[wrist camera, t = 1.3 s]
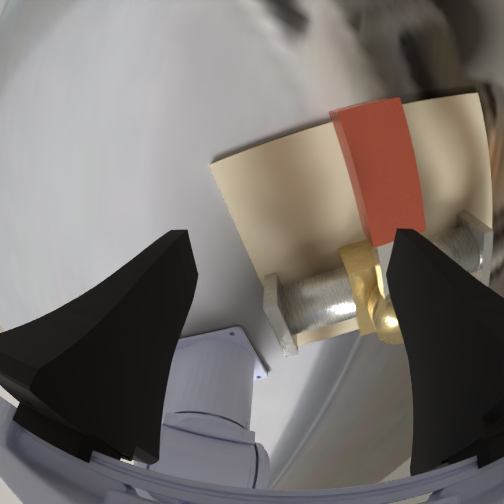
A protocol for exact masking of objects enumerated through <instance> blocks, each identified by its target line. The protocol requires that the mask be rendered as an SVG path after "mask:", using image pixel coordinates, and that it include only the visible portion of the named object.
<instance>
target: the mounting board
mask: <svg viewBox="0 0 504 504" xmlns="http://www.w3.org/2000/svg"><path fill="white" fill-rule="evenodd" d="M402 106H403V110H404V113H405V117H406V120H407V124H408V128H409V132H410V136H411V140H412V145H413V149H414V154H415V159H416V164H417V169H418V175H419V180H420V186H421V193H422V200H423V207H424V216H425V225H426V231H423V232H420V234H421V235H423V236H424V237H425V238H430V237H432V236H435V235H438V234H441V233H443V232H446V231H449V230H451V229H454V228H457V213H458V212H461V211H464V210H466V211H468V212H469V213H470V214H472V215H473V216H475V217H476V218H477V219H479V220H480V221H482V222H483V223H484V224H486V225H487V226H488V227H490V228H491V229H492V184H491V170H490V160H489V151H488V143H487V136H486V130H485V124H484V119H483V114H482V109H481V104H480V100H479V96H478V93H467V94H459V95H452V96H445V97H439V98H432V99H427V100H421V101H416V102H410V103H405V104H402ZM209 167H210V169H211V171H212V174H213V176H214V178H215V181H216V183H217V185H218V187H219V190H220V192H221V194H222V196H223V199H224V201H225V203H226V205H227V208H228V210H229V212H230V214H231V217H232V219H233V221H234V223H235V226H236V228H237V230H238V233H239V235H240V237H241V239H242V242H243V244H244V246H245V248H246V251H247V253H248V255H249V257H250V260H251V262H252V264H253V266H254V268H255V271H256V273H257V275H258V277H259V280H260V282H261V284H262V286H263V289H264V275H268V274H271V273H274V272H277V274H278V277H279V279H280V282H281V284H282V285H284V284H288V283H291V282H295V281H298V280H301V279H305V278H308V277H311V276H315V275H318V274H321V273H324V272H328V271H331V270H334V269H337V268H340V267H342V265H341V261H340V257H339V253H338V250H337V248H340V247H343V246H346V245H349V244H352V243H356V242H359V241H362V240H365V239H367V237H366V236H365V234H364V233H363V230H362V225H361V221H360V217H359V212H358V208H357V204H356V200H355V196H354V192H353V189H352V185H351V181H350V178H349V174H348V171H347V167H346V164H345V160H344V157H343V154H342V150H341V147H340V144H339V141H338V138H337V135H336V132H335V129H334V126H333V123H332V122H328V123H325V124H321V125H318V126H315V127H311V128H308V129H305V130H302V131H299V132H296V133H292V134H289V135H286V136H283V137H280V138H278V139H275V140H272V141H269V142H266V143H263V144H260V145H258V146H255V147H252V148H250V149H247V150H244V151H242V152H239V153H236V154H234V155H231V156H229V157H226V158H224V159H221V160H219V161H216V162H214V163H211V164H210V165H209ZM357 329H358V325H357V322H356V319H355V318H352V319H349V320H345V321H342V322H339V323H335V324H332V325H329V326H325V327H322V328H318V329H314V330H311V331H307V332H303V333H299V334H297V343H298V346H300V345H304V344H308V343H312V342H315V341H319V340H323V339H326V338H330V337H334V336H337V335H340V334H344V333H347V332H350V331H354V330H357Z"/></svg>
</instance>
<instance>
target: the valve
mask: <svg viewBox="0 0 504 504" xmlns="http://www.w3.org/2000/svg"><path fill="white" fill-rule="evenodd" d="M427 239H428V240H429V241H430V242H432V243H433V244H434V245H435V246H437V247H438V248H439V249H440V250H442V251H443V252H444V253H445V254H447V255H448V256H449V257H450V258H451V259H453V260H454V261H455V262H456V263H458V264H459V265H460V266H461V267H462V268H464V269H465V270H466V271H468V272H469V273H470V274H471V275H473V276H474V277H475V278H476V279H478V280H479V281H480V282H482V283H483V284H484V285H486V286H488V285H489V277H490V269H491V259H492V246H493V230H492V229H491V228H490V227H488V226H487V225H486V224H484V223H483V222H482V221H480V220H479V219H477V218H476V217H475V216H473V215H472V214H470V213H469V212H468V211H466V210H464V211H461V212H458V213H457V228H454V229H451V230H449V231H446V232H443V233H441V234H438V235H435V236H432V237H430V238H427ZM337 250H338V253H339V257H340V261H341V265H342V267H340V268H337V269H334V270H331V271H328V272H324V273H321V274H318V275H315V276H311V277H308V278H305V279H301V280H298V281H295V282H291V283H288V284H284V285H282V284H281V282H280V279H279V277H278V274H277V272H274V273H271V274H268V275H264V295H263V310H264V312H265V314H266V316H267V318H268V321H269V323H270V325H271V327H272V329H273V331H274V333H275V335H276V337H277V339H278V342H279V344H280V346H281V348H282V350H283V352H284V354H285V356H286V357H287V356H292V355H296V354H298V343H297V334H299V333H303V332H307V331H311V330H314V329H318V328H322V327H325V326H329V325H332V324H335V323H339V322H342V321H345V320H349V319H352V318H355V319H356V322H357V325H358V329H359V332H360V335H361V336H363V335H366V334H369V333H372V332H375V331H376V330H375V327H374V325H373V322H372V320H371V317H370V315H369V312H368V301H369V298H370V295H371V293H372V292H373V290H374V289H375V288H376V286H377V285H378V280H377V274H376V268H375V262H374V257H373V251H372V246H371V243H370V242H369V240H368V239H365V240H362V241H359V242H356V243H352V244H349V245H346V246H343V247H340V248H337Z"/></svg>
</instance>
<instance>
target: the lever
mask: <svg viewBox="0 0 504 504" xmlns="http://www.w3.org/2000/svg"><path fill="white" fill-rule="evenodd" d="M329 114H330V117H331V120H332V123H333V126H334V129H335V132H336V135H337V138H338V141H339V144H340V147H341V150H342V154H343V157H344V160H345V164H346V167H347V171H348V174H349V178H350V181H351V185H352V189H353V192H354V196H355V200H356V204H357V208H358V212H359V217H360V221H361V225H362V230H363V233H364V234H365V236H366V237H367V239H368V240H369V242H370V243H371V246H372V251H373V257H374V262H375V268H376V274H377V280H378V285H377V286H376V288H375V289H374V290H373V292H372V293H371V295H370V298H369V301H368V312H369V315H370V317H371V320H372V322H373V325H374V327H375V330H376V333H377V335H378V337H379V338H380V339H381V340H382V341H383V342H385V343H388V344H401V343H404V340H403V337H402V334H401V330H400V327H399V324H398V321H397V318H396V314H395V311H394V308H393V305H392V302H391V298H390V293H389V289H388V284H387V278H386V272H387V268H388V264H389V260H390V256H391V252H392V248H393V243H394V239H395V234H396V230H397V228H405V229H414V230H415V231H417V232H418V233H420V232H423V231H426V225H425V216H424V207H423V200H422V193H421V186H420V180H419V175H418V169H417V164H416V159H415V154H414V149H413V145H412V140H411V136H410V132H409V128H408V124H407V120H406V117H405V113H404V110H403V106H402V103H401V99H400V97H390V98H381V99H376V100H372V101H368V102H364V103H359V104H355V105H351V106H347V107H344V108H340V109H336V110H333V111H329Z"/></svg>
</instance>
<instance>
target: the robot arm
mask: <svg viewBox="0 0 504 504" xmlns="http://www.w3.org/2000/svg"><path fill="white" fill-rule="evenodd" d="M386 278H387V284H388V289H389V293H390V298H391V302H392V305H393V308H394V311H395V314H396V318H397V321H398V324H399V327H400V330H401V334H402V337H403V340H404V344H405V347H406V351H407V355H408V360H409V366H410V374H411V382H412V393H413V418H414V421H413V445H412V457H411V465H410V473H411V476H410V477H406V478H402V479H397V480H392V481H387V482H381V483H376V484H369V485H362V486H354V487H345V488H334V489H318V490H269V489H266V487H267V483H268V478H269V457H268V454H267V452H266V450H265V449H264V447H263V445H262V444H260V443H255V442H254V441H255V432H254V431H249V430H250V417H251V404H252V392H253V381H255V380H260V379H265V378H267V377H268V373H267V371H266V369H265V368H264V366H263V364H262V363H261V361H260V359H259V357H258V356H257V354H256V352H255V350H254V349H253V347H252V345H251V343H250V342H249V340H248V338H247V336H246V335H245V333H244V331H243V329H242V328H240V327H232V328H228V329H223V330H219V331H214V332H210V333H205V334H201V335H196V336H191V337H186V338H181V339H179V338H180V335H181V332H182V329H183V326H184V324H185V321H186V318H187V315H188V312H189V310H190V307H191V304H192V301H193V298H194V293H195V289H196V284H197V279H198V272H197V268H196V264H195V260H194V256H193V252H192V248H191V243H190V239H189V235H188V231H187V230H171V231H169V232H167V233H166V234H164V235H163V236H162V237H160V238H159V239H158V240H156V241H155V242H154V243H152V244H151V245H150V246H148V247H147V248H146V249H145V250H143V251H142V252H141V253H140V254H138V255H137V256H136V257H134V258H133V259H132V260H131V261H129V262H128V263H127V264H125V265H124V266H123V267H121V268H120V269H119V270H117V271H116V272H115V273H113V274H112V275H111V276H109V277H108V278H107V279H105V280H104V281H102V282H101V283H99V284H98V285H97V286H95V287H93V288H92V289H90V290H89V291H87V292H86V293H84V294H83V295H81V296H79V297H78V298H76V299H74V300H72V301H70V302H69V303H67V304H65V305H63V306H62V307H60V308H58V309H56V310H54V311H52V312H50V313H48V314H46V315H44V316H42V317H40V318H38V319H36V320H33V321H31V322H29V323H26V324H24V325H21V326H19V327H16V328H13V329H11V330H8V331H5V332H2V333H0V385H1V386H2V387H3V388H4V389H5V390H6V391H7V392H9V393H10V394H11V395H12V396H13V397H14V398H15V399H17V400H18V401H19V402H20V403H19V405H18V408H16V407H15V406H13V405H12V404H11V403H9V402H8V401H6V400H5V399H3V398H2V397H0V477H1V478H2V480H3V481H4V482H5V483H6V484H7V486H8V487H9V488H10V489H11V490H12V492H13V493H14V494H15V495H16V496H17V497H18V498H19V500H20V501H21V502H22V503H23V504H388V503H392V502H397V501H401V500H405V499H409V498H413V497H417V496H420V495H424V494H427V493H431V492H433V493H432V494H431V495H430V497H429V499H428V500H427V501H426V502H422V503H418V504H504V298H503V297H501V296H500V295H498V294H497V293H496V292H494V291H493V290H491V289H490V288H488V287H487V286H486V285H484V284H483V283H482V282H480V281H479V280H478V279H476V278H475V277H474V276H473V275H471V274H470V273H469V272H468V271H466V270H465V269H464V268H462V267H461V266H460V265H459V264H458V263H456V262H455V261H454V260H453V259H451V258H450V257H449V256H448V255H447V254H445V253H444V252H443V251H442V250H440V249H439V248H438V247H437V246H435V245H434V244H433V243H432V242H430V241H429V240H428V239H427V238H425V237H424V236H423V235H421V234H420V233H418V232H417V231H415V230H414V229H405V228H397V230H396V234H395V239H394V243H393V248H392V252H391V256H390V260H389V264H388V268H387V272H386ZM231 332H234V333H231ZM121 458H122V459H125V460H128V461H132V460H135V461H134V465H131V464H128V463H125V462H123V461H120V459H121ZM434 491H435V492H434Z"/></svg>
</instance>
